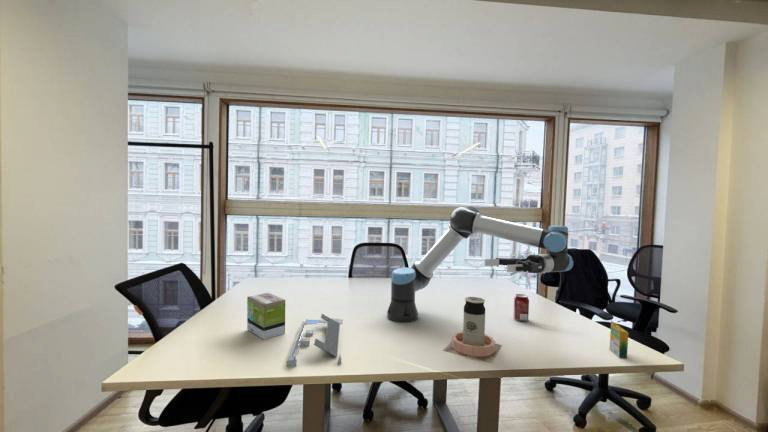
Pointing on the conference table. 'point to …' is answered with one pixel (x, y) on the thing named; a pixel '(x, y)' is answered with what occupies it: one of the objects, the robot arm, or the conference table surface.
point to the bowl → (473, 350)
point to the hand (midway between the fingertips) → (495, 265)
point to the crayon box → (618, 340)
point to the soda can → (521, 307)
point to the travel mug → (474, 321)
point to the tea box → (266, 315)
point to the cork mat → (487, 358)
